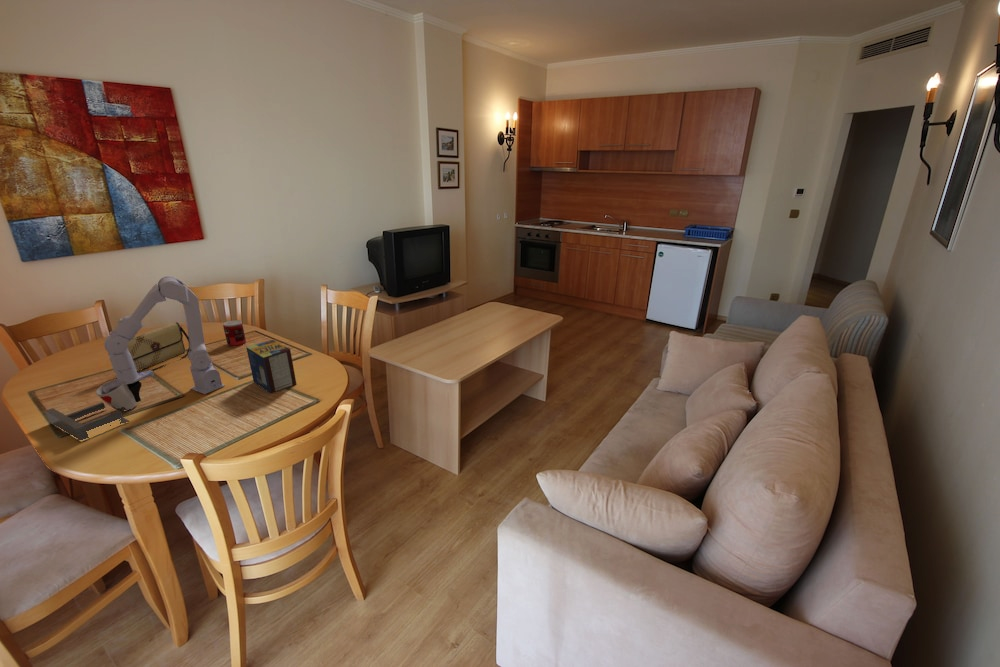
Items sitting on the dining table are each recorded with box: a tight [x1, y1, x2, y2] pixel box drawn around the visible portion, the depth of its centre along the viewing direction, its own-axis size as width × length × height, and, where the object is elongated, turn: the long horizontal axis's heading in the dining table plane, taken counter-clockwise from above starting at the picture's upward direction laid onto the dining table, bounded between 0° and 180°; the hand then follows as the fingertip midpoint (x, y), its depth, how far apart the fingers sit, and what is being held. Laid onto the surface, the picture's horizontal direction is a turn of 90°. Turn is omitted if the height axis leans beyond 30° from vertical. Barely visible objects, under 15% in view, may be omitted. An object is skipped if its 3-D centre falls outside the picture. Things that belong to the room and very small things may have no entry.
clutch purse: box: [128, 321, 190, 373], centre depth 185 cm, size 30×7×15 cm, turn 166°
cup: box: [95, 378, 137, 411], centre depth 151 cm, size 8×8×10 cm
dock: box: [44, 401, 130, 440], centre depth 144 cm, size 22×13×5 cm, turn 63°
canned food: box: [222, 319, 247, 347], centre depth 208 cm, size 8×8×11 cm
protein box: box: [246, 339, 297, 394], centre depth 170 cm, size 10×15×16 cm
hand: (136, 401), depth 156 cm, fingers closed, pressing on cup
